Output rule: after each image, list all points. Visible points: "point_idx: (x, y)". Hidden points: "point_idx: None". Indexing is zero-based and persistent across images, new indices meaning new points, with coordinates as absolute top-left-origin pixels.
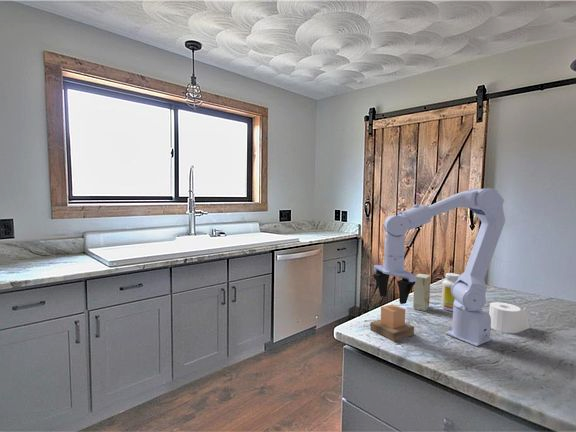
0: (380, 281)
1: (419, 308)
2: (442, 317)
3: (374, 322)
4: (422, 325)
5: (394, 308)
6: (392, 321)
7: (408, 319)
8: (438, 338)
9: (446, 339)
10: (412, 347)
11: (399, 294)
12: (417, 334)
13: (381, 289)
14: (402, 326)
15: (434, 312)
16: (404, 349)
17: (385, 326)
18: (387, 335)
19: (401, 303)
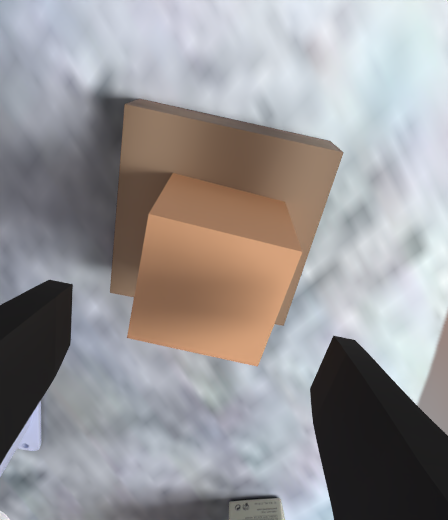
0: (431, 517)
1: (251, 506)
2: (148, 490)
3: (318, 170)
4: (157, 382)
5: (193, 295)
6: (171, 187)
7: (238, 399)
8: None
9: None
10: (27, 114)
11: (5, 338)
12: None
13: (364, 402)
14: None
15: (197, 510)
16: (34, 47)
17: (226, 166)
18: (184, 111)
19: (47, 282)
